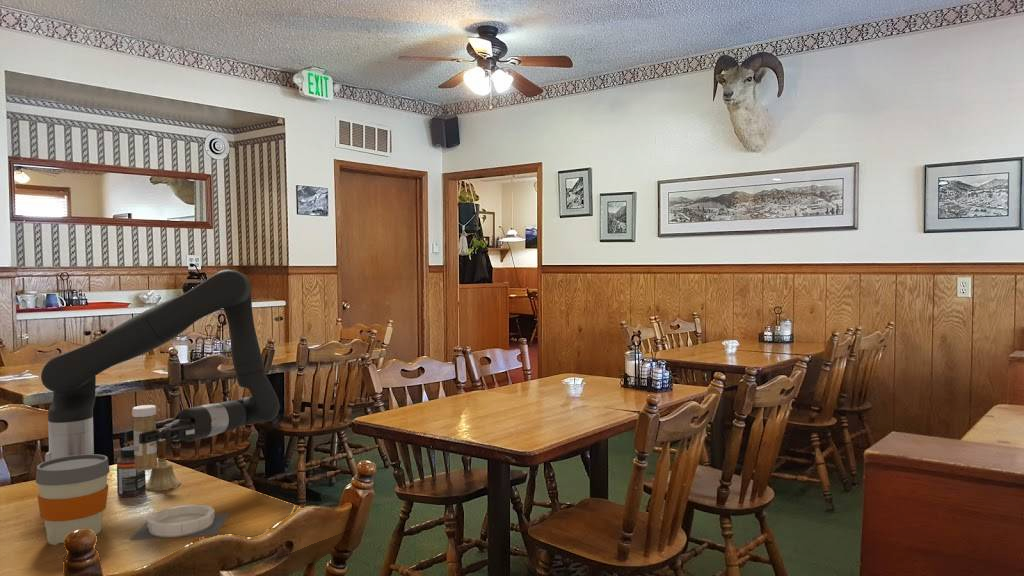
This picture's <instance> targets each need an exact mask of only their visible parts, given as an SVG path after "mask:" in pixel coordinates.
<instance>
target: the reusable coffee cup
mask: <svg viewBox="0 0 1024 576" xmlns="http://www.w3.org/2000/svg"><path fill="white" fill-rule="evenodd" d="M110 472H111V471H110V464H109V457H108V456H106V455H104V454H98V453H97V454H96V453H95V454H84V455H73V456H66V457H61V458H56V459H52V460H48V461H45V460H44V461H43V462H41V463H39V464H38V465H36V472H35V483H36V484H37V487H38V494H37V497H36V498H37V501H38V508H39V513H40V518H41V519H42V520H43V521H44V528H45V532H46V539H47V542H48V544H49V545H53V546H57V545H58V544H59V543H60V544H61V543H65V542H64V538H65V536H66V535H67V534H68V533H70V532H72V531H75V530H78V529H91V530H93V531H94V532H95V533H96V535H97V534H99V533H100V532H101V530H102V524H103V516H104V511H105V509H106V508H107V504H108V503H107V501H108V500H107V499H108V496H109V495H108V494H109V484H108V474H109V473H110Z"/></svg>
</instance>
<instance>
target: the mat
mask: <svg viewBox="0 0 1024 576" xmlns="http://www.w3.org/2000/svg"><path fill="white" fill-rule="evenodd" d="M214 516H215V518H214V522H213V524H212V525H211V526H210V527H209V528H207V529H205V530H203V531H200V532H197V533H194V534H190V535H185V536H179V537H178V538H180V537H181V538H183V537H195V536H211V535H217V534H218V532H219V531H220V529H221V528H222V526H223V525H224V523H225V522H226V519H227V518H228V516H230V513H214ZM167 538H171V537H157V536H153V535H151V534H150V533H149V528H148V523H147V521H146V522H145V523H144V524H143V525H142V526H141V527H140V528H139V529H138V530H137V531H136V532H135V534H133V535H132V537H131V538H129V541H139V540H154V539H167Z"/></svg>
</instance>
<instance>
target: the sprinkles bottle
mask: <svg viewBox="0 0 1024 576" xmlns="http://www.w3.org/2000/svg"><path fill="white" fill-rule="evenodd" d="M131 412H132V420H133V429H134V431H133V432H134V440H133V446H134V455H135V467H134V469H135V470H139V471H144V470H145V471H150V470H152V469H153V468H156V467H157V466H158V464H157V462H158V459H157V458H158V445H157V441H154V442H150V443H146V444H140V443H139V434H141V433H145V432H149V431H153V430H156V420H157V419H156V417H157V406H156V405H154V404H143V405H142V404H141V405H137V406H134V407H132V411H131Z"/></svg>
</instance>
